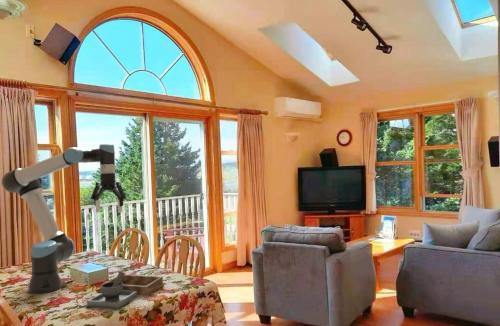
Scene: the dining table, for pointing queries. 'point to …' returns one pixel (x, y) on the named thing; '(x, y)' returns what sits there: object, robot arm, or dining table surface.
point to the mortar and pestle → (113, 288)
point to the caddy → (141, 283)
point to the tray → (101, 303)
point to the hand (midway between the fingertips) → (109, 212)
